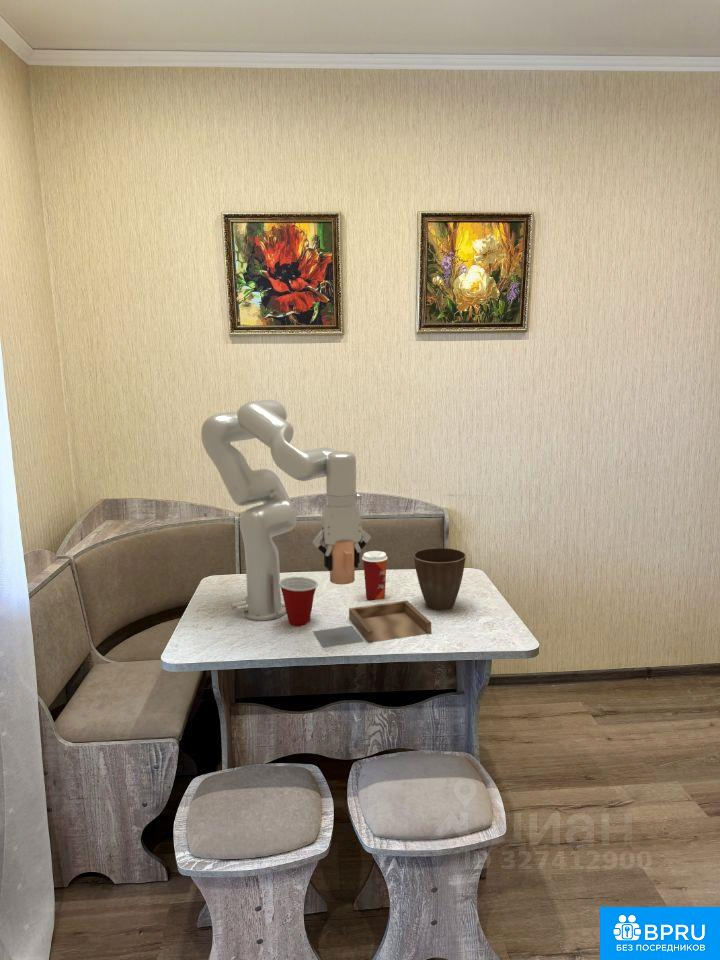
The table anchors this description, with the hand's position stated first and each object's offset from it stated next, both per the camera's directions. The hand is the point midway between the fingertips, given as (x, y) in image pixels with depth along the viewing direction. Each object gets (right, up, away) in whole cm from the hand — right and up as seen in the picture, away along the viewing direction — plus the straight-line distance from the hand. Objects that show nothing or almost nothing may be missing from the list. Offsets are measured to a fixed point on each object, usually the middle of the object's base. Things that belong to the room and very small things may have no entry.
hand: (342, 567), depth 177 cm
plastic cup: (-12, -17, +13) cm, 25 cm away
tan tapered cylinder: (+1, -4, -1) cm, 4 cm away
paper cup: (+9, -14, +31) cm, 36 cm away
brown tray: (+13, -18, +9) cm, 23 cm away
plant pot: (+28, -15, +23) cm, 39 cm away
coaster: (-1, -19, +2) cm, 19 cm away
